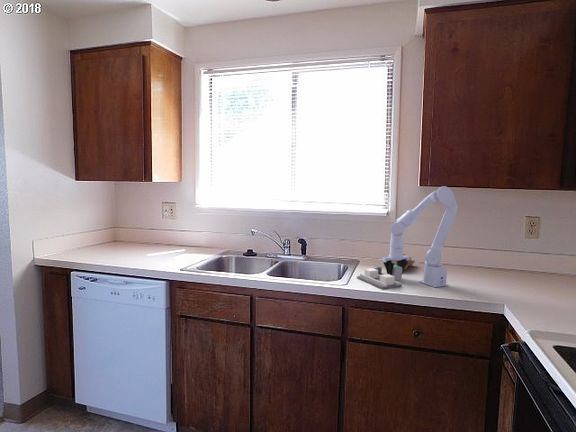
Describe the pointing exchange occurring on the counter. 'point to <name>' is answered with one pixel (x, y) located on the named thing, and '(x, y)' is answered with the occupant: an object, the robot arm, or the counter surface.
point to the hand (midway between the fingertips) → (394, 275)
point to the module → (397, 272)
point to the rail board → (379, 279)
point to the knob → (378, 269)
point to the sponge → (410, 261)
